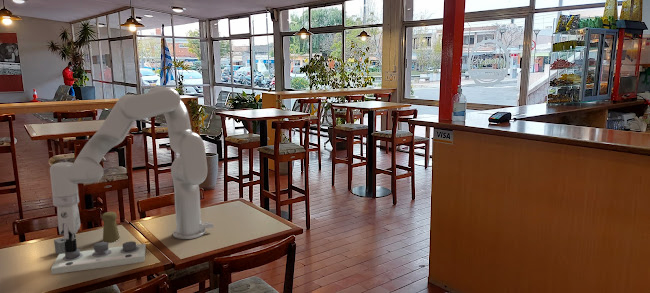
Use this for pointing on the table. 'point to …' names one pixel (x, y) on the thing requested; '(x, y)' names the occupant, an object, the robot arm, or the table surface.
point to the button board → (99, 259)
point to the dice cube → (59, 246)
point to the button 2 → (129, 246)
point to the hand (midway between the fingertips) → (71, 250)
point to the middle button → (101, 247)
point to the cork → (110, 227)
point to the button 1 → (72, 254)
